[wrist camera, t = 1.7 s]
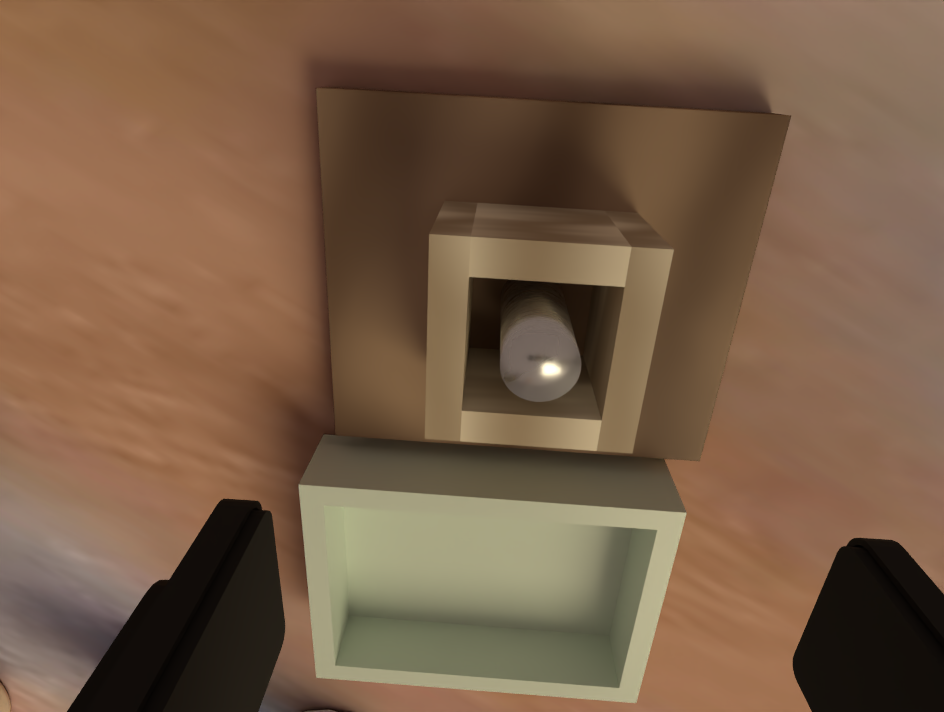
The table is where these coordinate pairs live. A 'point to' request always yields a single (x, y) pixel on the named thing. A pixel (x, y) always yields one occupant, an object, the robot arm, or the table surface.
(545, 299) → the cylinder
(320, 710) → the soap bottle
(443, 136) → the stake board
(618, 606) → the tray
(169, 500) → the table surface
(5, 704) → the teacup with lid
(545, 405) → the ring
